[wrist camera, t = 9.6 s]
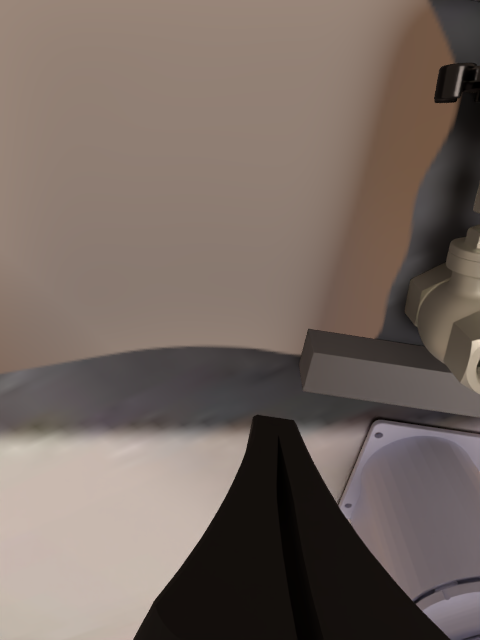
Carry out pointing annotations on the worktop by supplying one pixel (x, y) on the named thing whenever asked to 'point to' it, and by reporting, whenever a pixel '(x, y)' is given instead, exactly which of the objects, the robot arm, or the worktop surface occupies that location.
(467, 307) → the valve
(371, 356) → the chassis bay
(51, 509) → the worktop surface
